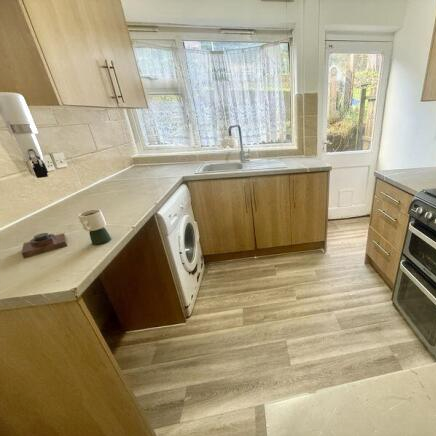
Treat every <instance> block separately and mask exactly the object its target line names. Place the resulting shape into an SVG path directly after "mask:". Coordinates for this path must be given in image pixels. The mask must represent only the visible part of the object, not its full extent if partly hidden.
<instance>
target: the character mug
mask: <svg viewBox="0 0 436 436" xmlns="http://www.w3.org/2000/svg"><path fill="white" fill-rule="evenodd" d="M77 217H78V219H79V222H80V223H81V225H82V229H83V230H84V231H86V232H89V238H90V241H91V242H90V243H91V244H92V245H93V246H97V245H101V244H105V243H108V242H110V241H111V240H112V236H111V235H110V233H109V232H108V229H106V228H105V227H106V226H107V222H106V220H105V217H104V214H103V212H102V210H101V209H98V208H96V209H95V208H94V209H88V210H85V211H83V212H80V213H79V214H78V215H77Z"/></svg>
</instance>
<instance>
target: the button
mask: <svg viewBox="0 0 436 436" xmlns="http://www.w3.org/2000/svg"><path fill="white" fill-rule="evenodd" d="M49 234H50V233H49V232H42V233H38V234H35V235H34V236H33V238H34V239H35V241H42V240H45V239H48V238H49Z"/></svg>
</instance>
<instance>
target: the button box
mask: <svg viewBox="0 0 436 436" xmlns="http://www.w3.org/2000/svg"><path fill="white" fill-rule="evenodd" d="M48 234H49V238H48V239H45V240H42V241H35V239H34V237H33V238H32V239H30V240H29V241H26V242H23V244H22V249H21V255H22V257H23V259H27V258H29V257H33V256H38V255H41V254H45V253H49V252H51V251H52V252H53V251H56V250H58V249H62V248H65V247H68V240H67V236H66V234H65V233H64V232H63V233H60V234H59V233H58V234H54V233H48Z"/></svg>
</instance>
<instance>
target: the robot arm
mask: <svg viewBox="0 0 436 436" xmlns="http://www.w3.org/2000/svg"><path fill="white" fill-rule="evenodd" d="M0 116H1V118H2V120H3V122H4V125H5V126H6V129H7V131H8V133H9V135H11V136H14V138H15V141H16V143H17V146H18V148H19V150H20V153H21V155H22V157H23V159H24V162H26V163H29V162H30V164H31V167H32V170H33V173H34V175H35V177H36V178H37V179H42V178H48V177H49V175H48V173H49V170H48V169H47V166H46V164H45V163H44V161H43V160H44V156H43V152H42V150H41V147H40V144H39V142H38V139H37V136H36V134H39V131H38V129H37V126H36V124H35V121H34V119H33V116H32V114H31V112H30V109H29V107H28V104H27V102H26V100H25V98H24V96H23V95H22V94H20V93H18V92H10V91H8V92H7V91H1V92H0Z"/></svg>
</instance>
